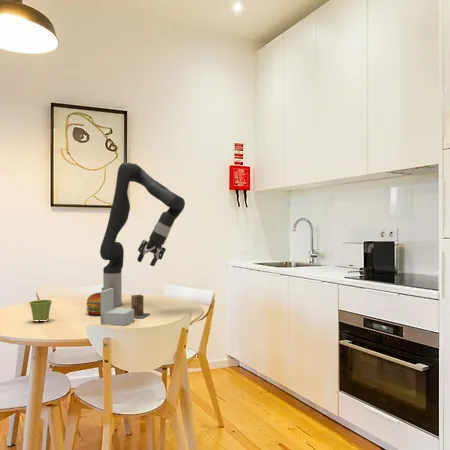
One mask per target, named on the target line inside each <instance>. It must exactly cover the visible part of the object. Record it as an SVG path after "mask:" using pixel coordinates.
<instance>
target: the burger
mask: <svg viewBox="0 0 450 450" xmlns="http://www.w3.org/2000/svg"><path fill="white" fill-rule="evenodd" d="M114 303H115V302H114ZM114 308H116V307H114ZM86 312H87V313H88V314H89V315H93V316H101V292H95V293H92V294H91V295H89V296H88V297H87V298H86Z"/></svg>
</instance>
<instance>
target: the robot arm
mask: <svg viewBox="0 0 450 450" xmlns="http://www.w3.org/2000/svg"><path fill="white" fill-rule="evenodd" d="M130 182H131V183H134V182H135V183H137V184H138V185H141V186H142V187H144V188H145V189H146V191H147V192H148V193H149V194H150V195H151V196H152V197H153V198H155V199H157V200H158V201H161V202H162V203H163V205H165V206H166V207H168V209H167V211H163V212H162V213H161V215H160V216H159V219H158V220H157V221H156V224H155V226H154V227H153V230H152V231H151V234H150V236H149V238H148V239H149V240H148V241H147V240H145V239H143V240H142V241H141V243H140V245H139V246H138V248H137V251H138V253H139V255H138V257H137V262H138V263H142V261H143V259H144V258H145V255H146V254H149V253H152V254H153V257H152V259H151V261H150V264H149V266H151V267H154V266H156V264H157V261H159V260H162V259H163V257H164V255H165V252H166V250H167V249H166V247H164V246H163V245H164V244H165V243H166V240H167V238H168V236H169V234H170V232H171V229H172V227H173V225H174V223H175V221H176V219H177V218H178V217H179V216H180V214H181V213H182V212H183V210H184V209H185V205H186V201H185V199H184V198H183V197H182V196H181V195H178V194H176V193H175V192H173V191H172V190H170V189H169V188H168V187H166V186H164V185H163V184H162V183H160V182H158V181H157V180H155V179H154V178H153V177H151V175H149V174H148V173H147V172H146V171H145V170H144V169H143V168H142V167H141V166H140V165H139V164H136V163H132V162H122V163H121V164H120V165H119V166H118V169H117V175H116V182H115V189H114V190H115V191H114V193H113V194H114V196H113V198H112V199H113V200H112V204H111V208H110V212H109V217H108V222H107V225H106V228H105V229H106V230H105V232H104V237H103V239H102V241H101V244H100V245H101V246H100V249H99V254H100V257H101V259H102V260H104V261H109V262H108V263H107V264H106V265H105V266H104V267H103V270H102V271H103V272H102V273H103V275H102V276H103V277H102V278H103V282H102V283H103V286H102V288H101V291H104V290H107V289H110V288H114V302H115V303H114V307H115V308H116V307H121V306H122V302H123V301H122V300H123V299H122V295H123V294H122V290H123V289H122V286H123V285H122V284H123V283H122V282H123V281H122V278H123V277H122V276H123V275H122V272H123V270H122V269H123V268H124V267H123V266H124V259H125V258H124V255H125V254H124V253H125V251H124V246H123V244H122V243H121V242H119V241H117V237H118V235H119V233H120V232H121V230H122V229H123V228H124V226H126V223H127V222H128V219H129V216H130V215H129V214H130V210H131V204H130V200H129V196H128V195H129V194H128V191H129V186H130Z"/></svg>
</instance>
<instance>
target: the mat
mask: <svg viewBox="0 0 450 450" xmlns="http://www.w3.org/2000/svg"><path fill="white" fill-rule="evenodd" d="M150 315H151V313H150V312H149V313H147V312H143V316H134V319H145V318H147V317H148V316H150Z"/></svg>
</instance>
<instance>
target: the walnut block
mask: <svg viewBox="0 0 450 450" xmlns="http://www.w3.org/2000/svg"><path fill="white" fill-rule="evenodd" d="M130 299H131V300H130V301H131V302H130V303H131V305H130V307H131V308H130V309H134V316H143V313H144V295H142V294H131V298H130Z"/></svg>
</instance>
